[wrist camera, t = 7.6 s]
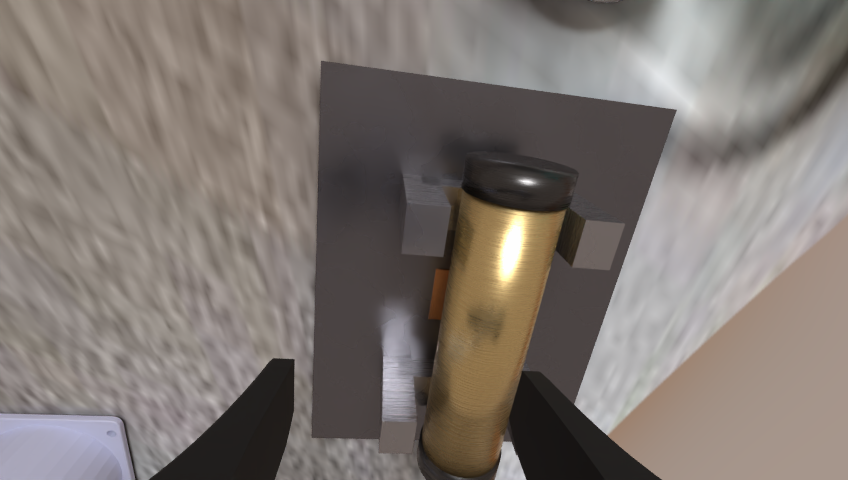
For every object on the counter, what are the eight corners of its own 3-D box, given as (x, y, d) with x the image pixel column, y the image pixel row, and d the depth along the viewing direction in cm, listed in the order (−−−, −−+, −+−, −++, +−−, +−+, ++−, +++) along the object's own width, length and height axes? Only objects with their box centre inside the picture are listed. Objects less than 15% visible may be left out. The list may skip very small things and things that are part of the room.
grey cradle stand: (554, 429, 27) (593, 512, 22) (314, 424, 25) (295, 513, 20) (662, 108, 19) (762, 119, 14) (325, 61, 17) (297, 55, 12)
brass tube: (485, 425, 23) (506, 496, 19) (413, 425, 22) (421, 498, 18) (550, 157, 17) (601, 182, 13) (456, 147, 16) (480, 169, 13)
